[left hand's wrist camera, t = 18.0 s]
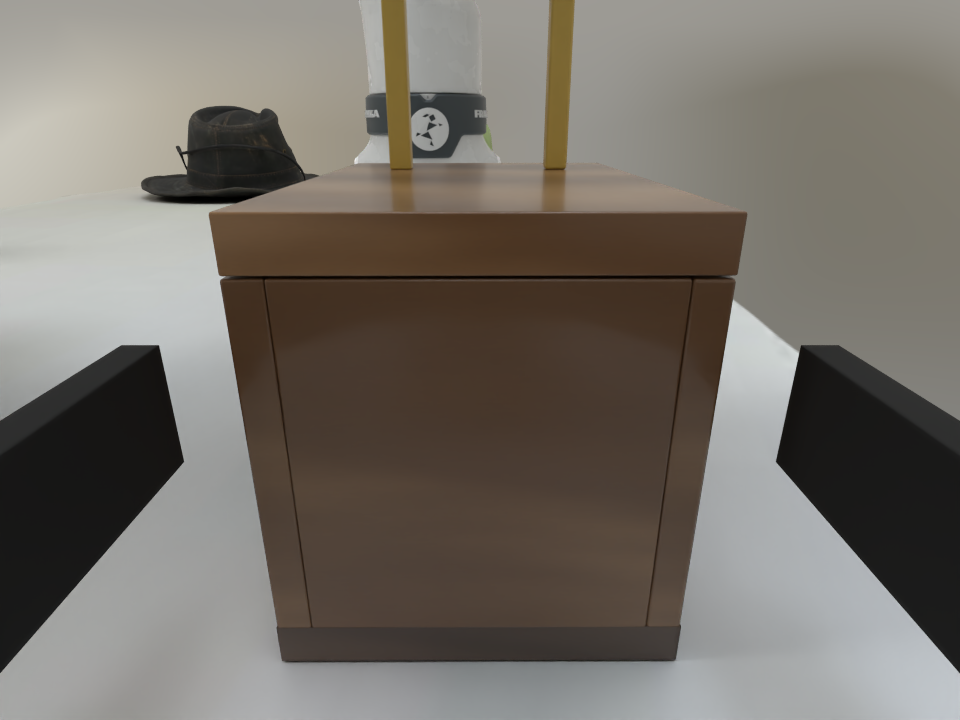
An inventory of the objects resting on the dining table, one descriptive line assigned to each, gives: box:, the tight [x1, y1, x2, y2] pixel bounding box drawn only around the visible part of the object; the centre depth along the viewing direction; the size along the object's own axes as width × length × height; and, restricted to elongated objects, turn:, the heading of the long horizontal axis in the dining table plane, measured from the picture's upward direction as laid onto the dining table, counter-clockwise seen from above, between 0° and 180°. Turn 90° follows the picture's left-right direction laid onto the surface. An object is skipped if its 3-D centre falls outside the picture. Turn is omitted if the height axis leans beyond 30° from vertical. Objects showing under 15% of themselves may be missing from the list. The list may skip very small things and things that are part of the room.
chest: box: [220, 276, 736, 661], centre depth 18 cm, size 13×9×9 cm
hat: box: [141, 106, 319, 197], centre depth 106 cm, size 32×35×14 cm
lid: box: [209, 0, 747, 276], centre depth 15 cm, size 14×9×9 cm
